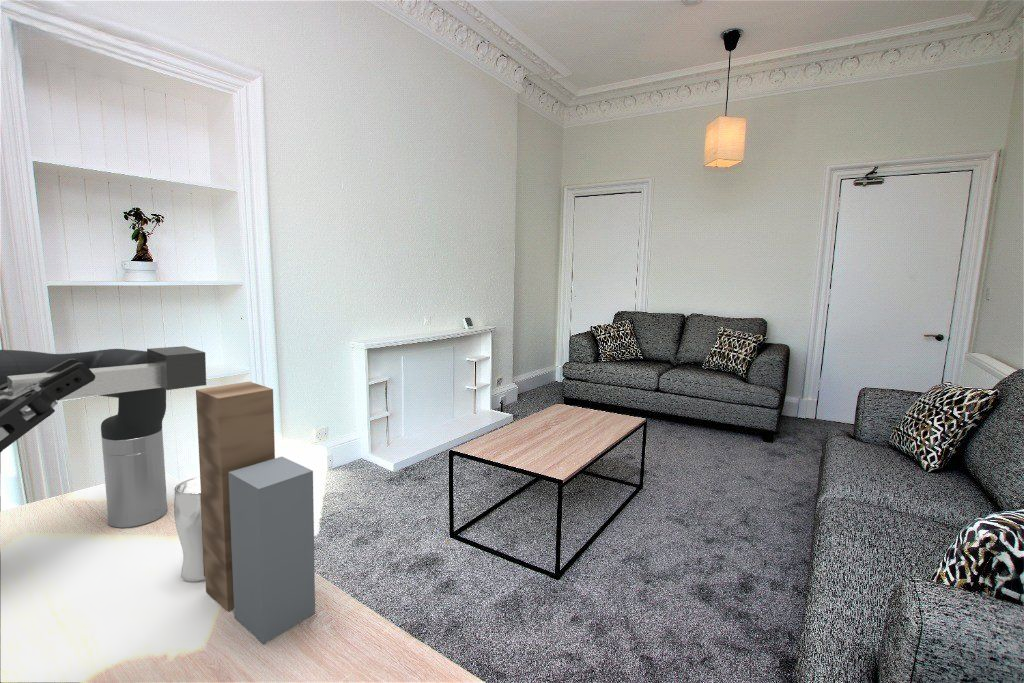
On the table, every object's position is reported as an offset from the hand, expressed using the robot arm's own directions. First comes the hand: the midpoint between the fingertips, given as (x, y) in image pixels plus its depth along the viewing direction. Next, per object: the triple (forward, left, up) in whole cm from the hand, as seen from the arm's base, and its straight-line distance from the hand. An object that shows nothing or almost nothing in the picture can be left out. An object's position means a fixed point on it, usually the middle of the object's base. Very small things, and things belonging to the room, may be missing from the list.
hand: (84, 367), depth 51 cm
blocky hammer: (0, +2, -3) cm, 4 cm away
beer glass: (-17, +17, -39) cm, 46 cm away
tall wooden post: (-7, +18, -39) cm, 43 cm away
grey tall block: (+2, +18, -39) cm, 43 cm away
